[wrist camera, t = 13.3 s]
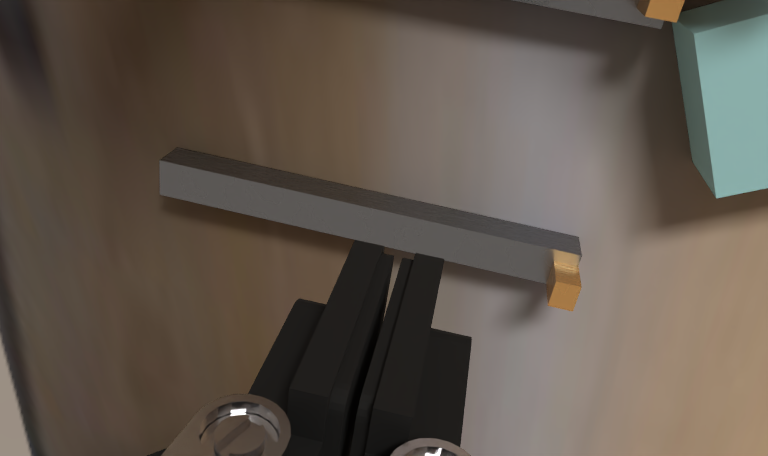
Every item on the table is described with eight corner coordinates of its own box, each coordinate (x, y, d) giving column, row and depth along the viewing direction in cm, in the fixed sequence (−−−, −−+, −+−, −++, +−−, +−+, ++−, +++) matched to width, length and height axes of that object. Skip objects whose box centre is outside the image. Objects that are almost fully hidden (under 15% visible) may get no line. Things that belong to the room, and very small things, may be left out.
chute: (179, -118, 30) (133, -120, 26) (668, -28, 28) (690, -16, 24) (176, 180, 37) (140, 210, 33) (567, 269, 35) (572, 311, 32)
